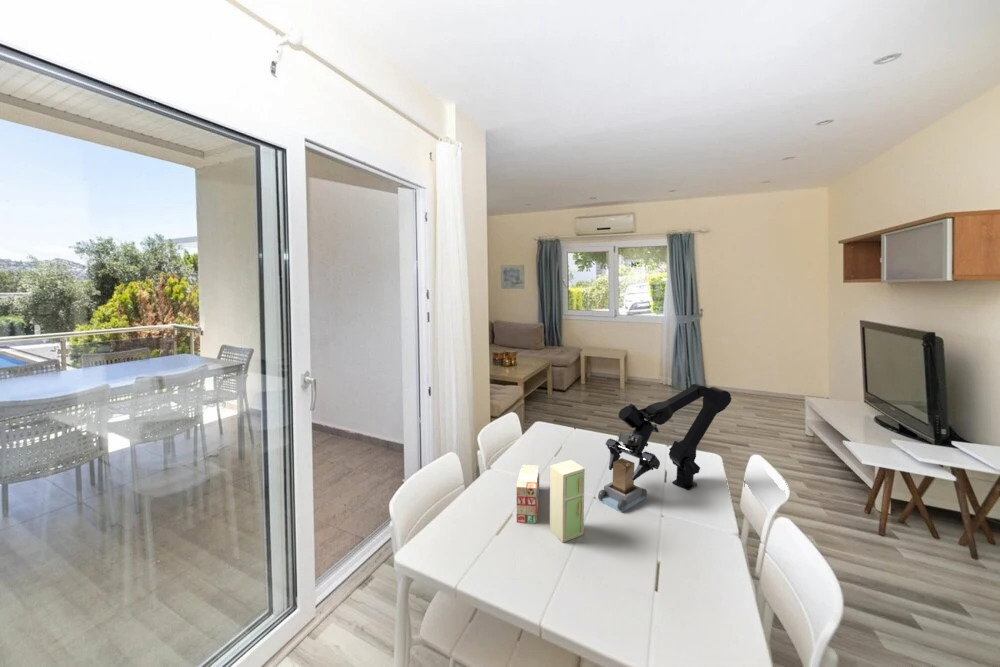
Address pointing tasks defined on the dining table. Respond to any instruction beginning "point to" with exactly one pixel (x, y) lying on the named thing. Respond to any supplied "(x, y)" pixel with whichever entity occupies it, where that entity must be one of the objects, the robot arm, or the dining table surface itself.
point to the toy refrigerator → (567, 500)
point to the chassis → (621, 497)
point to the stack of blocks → (528, 494)
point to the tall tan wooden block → (623, 476)
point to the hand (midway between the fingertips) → (620, 474)
